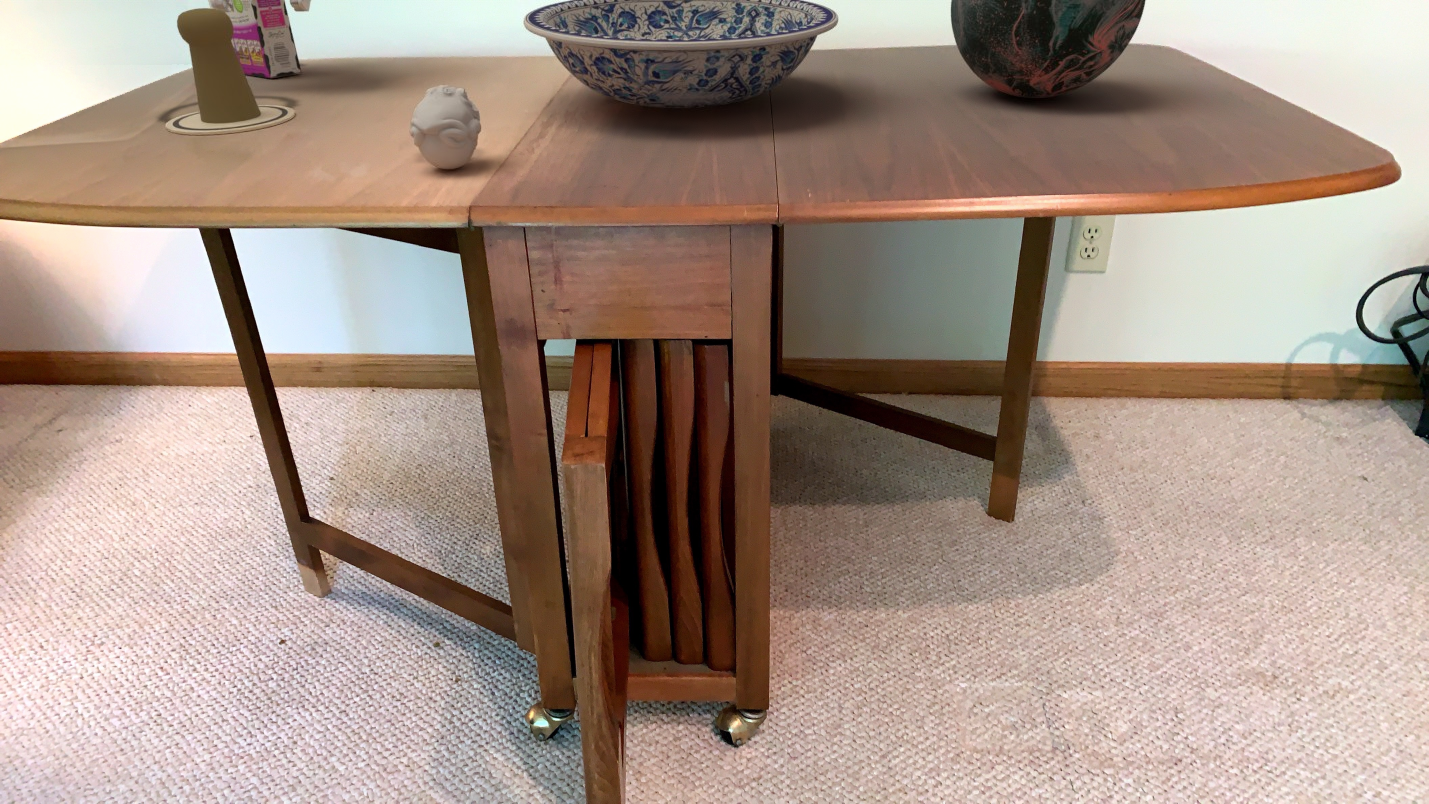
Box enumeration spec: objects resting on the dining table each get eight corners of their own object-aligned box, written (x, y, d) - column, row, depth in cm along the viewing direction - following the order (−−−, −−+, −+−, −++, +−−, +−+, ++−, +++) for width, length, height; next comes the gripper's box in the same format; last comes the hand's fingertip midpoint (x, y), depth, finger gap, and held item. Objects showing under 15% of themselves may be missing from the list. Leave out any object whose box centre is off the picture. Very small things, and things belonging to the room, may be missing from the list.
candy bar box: (305, 73, 122) (273, -61, 114) (271, 79, 119) (236, -58, 111) (259, 66, 128) (225, -62, 120) (225, 72, 124) (188, -60, 116)
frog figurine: (500, 158, 83) (489, 80, 79) (465, 180, 77) (452, 96, 74) (440, 155, 84) (427, 78, 81) (402, 176, 78) (386, 94, 75)
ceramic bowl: (584, 156, 83) (574, 42, 78) (503, 90, 110) (492, 2, 105) (894, 116, 95) (902, 14, 90) (752, 65, 122) (752, -15, 117)
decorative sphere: (923, 81, 110) (940, -104, 100) (1082, 77, 111) (1115, -108, 101) (969, 118, 93) (996, -100, 83) (1157, 113, 94) (1207, -105, 84)
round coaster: (148, 138, 92) (147, 135, 92) (186, 111, 103) (185, 108, 103) (281, 130, 94) (281, 127, 94) (305, 104, 105) (304, 101, 105)
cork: (214, 126, 95) (181, 14, 89) (192, 118, 98) (158, 10, 93) (270, 116, 99) (242, 8, 93) (247, 108, 102) (218, 4, 96)
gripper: (176, -109, 105) (155, -10, 101) (346, -112, 104) (331, -12, 100) (208, -69, 111) (189, 27, 107) (369, -71, 110) (355, 25, 106)
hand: (259, 8), depth 104 cm, fingers open, 8 cm apart
